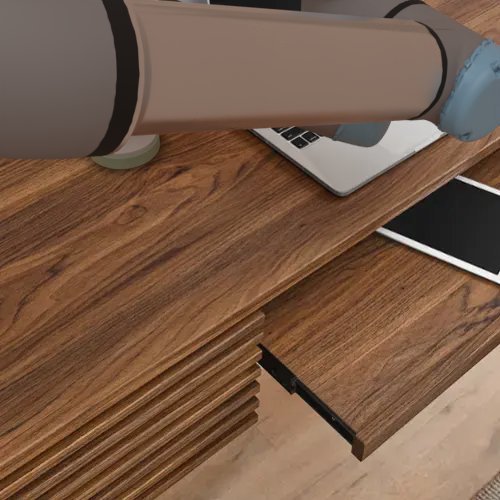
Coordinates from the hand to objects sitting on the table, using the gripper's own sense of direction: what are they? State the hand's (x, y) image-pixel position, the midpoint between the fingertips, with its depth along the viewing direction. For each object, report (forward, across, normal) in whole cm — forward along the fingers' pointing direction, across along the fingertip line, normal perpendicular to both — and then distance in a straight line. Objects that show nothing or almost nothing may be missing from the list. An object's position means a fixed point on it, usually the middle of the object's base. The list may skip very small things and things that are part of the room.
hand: (72, 18), depth 86 cm
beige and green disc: (-4, +1, -17) cm, 18 cm away
